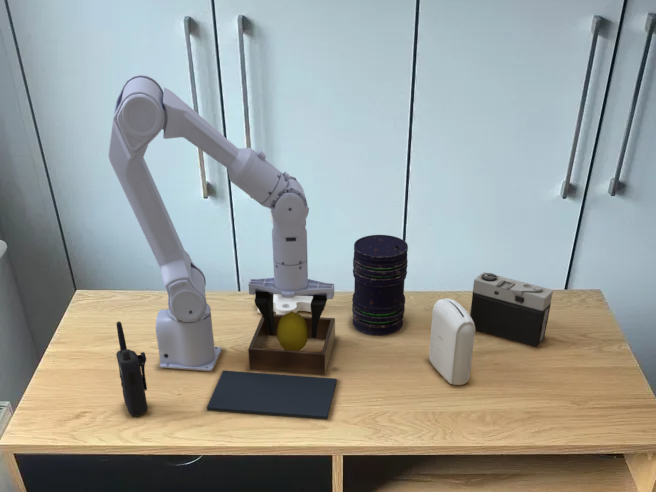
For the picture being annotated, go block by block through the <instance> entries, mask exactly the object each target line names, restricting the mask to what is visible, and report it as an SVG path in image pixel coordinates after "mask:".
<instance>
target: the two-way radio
mask: <svg viewBox="0 0 656 492" xmlns="http://www.w3.org/2000/svg"><path fill="white" fill-rule="evenodd" d="M116 331H117V338H118V344H119V350H117V351H116V355H115V356H116V359H117V365H118V372H119V379H120V384H121V388H122V395H123V400H124V404H125V407H126V409H127V412H128V414H129V415H130V416H132V417H140V416H143V415H144V414H145V413H146V412H147V411H148V403H147V396H146V391H148V387H147V386H148V385H147V380H146V370H145V369H146V368H145V367H146V362H147V356H146V353H145V352H144V351H141V352H139V354H137V353H136V352H135V351H134V350H131V349H129V348H127V343H126V337H125V333H124V328H123V324H122V322H121V321H117V322H116Z"/></svg>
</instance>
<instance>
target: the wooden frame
mask: <svg viewBox="0 0 656 492" xmlns="http://www.w3.org/2000/svg"><path fill="white" fill-rule="evenodd" d="M282 316H284V315H278V314H276V313H274V321H275V330H274V333H273V335H269V332H268V328H267V325H266V323H265V320H264V318H263V316H262V315H261V317H260V319H259V322H258V324H257V327H256V329H255V332H254V334H253V337H252V339H251V341H250V343H249V345H248V349H247V352H248V353H247V355H248V365H249V367H248V369H249V370H250V371H260V372H261V371H262V372H278V373H288V374H289V373H291V374H305V375H306V374H307V375H319V376H326V373H327V369H328V365H329V362H330V357H331V355H332V350H333V347H334V344H335V340H336V317H321V316H320V319H319V323H318V330H317V335H316V338H314V339H316V340H324V342H323V346H322V349H321V351H311V350H310V351H307V350H300V351H296V350H284V349H279V348H266V347H265V348H264V347H263V346H264V344H265V341H266V340H267V337H268V336H272V337H273V336H274V337H277V328H278V323H279V321H280V319H281V318H282ZM301 316H302V317H303V318H304V319H305V321H306V323H307V327H308V339H313V338H312V316H308V315H307V316H306V315H301Z"/></svg>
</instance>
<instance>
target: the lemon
mask: <svg viewBox="0 0 656 492" xmlns="http://www.w3.org/2000/svg"><path fill="white" fill-rule="evenodd" d="M302 316H303V315H301V314H299V313H298V312H297V313H294V312H293V311H291V312H290V313H287V314H285V315H284V316H282V318H281V319H280V321H279V323H278V328H277V336H276V337H277V340H278V344H279V345H280V347H281V348H282V350H296V351H303V349H304V348H305V347H306V345H307V343H308V340H309V338H308V327H307V323H306V321H305V319H304V318H303V317H302Z"/></svg>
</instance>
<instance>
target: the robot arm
mask: <svg viewBox="0 0 656 492" xmlns="http://www.w3.org/2000/svg"><path fill="white" fill-rule="evenodd" d="M114 107H115V108H114V113H113V117H112V125H111V132H110V140H109V148H108V159H109V162H110V165H111V167H112V169H113V171H114V174H115V175H116V178H117V179H118V181H119V184H120V187H121V188H122V191H123V193H124V194H125V197H126V199H127V201H128V203H129V205H130V207H131V210H132V211H133V213H134V216H135V218H136V220H137V222H138V224H139V226H140V228H141V231H142V233H143V235H144V237H145V239H146V241H147V243H148V246H149V247H150V250H151V252H152V254H153V256H154V258H155V261H156V262H157V264H158V267H159V270H160V274H161V278H162V281H163V285H164V287H165V290H166V292H167V307H168V308H167V309H165V308H164V309H159V311H158V312H157V314H156V319H155V335H156V341H157V349H158V355H159V361H160V362H159V368H161V369H174V370H190V371H202V372H203V371H204V372H212V371H213V370H214V368H215V366H216V363H217V361H218V358H219V357H220V356H221V352H222V350H223V349H222V347H221V346H215V340H214V339H215V338H214V328H213V319H212V309H211V306H210V304H208V303H207V297H206V285H207V282H206V276H205V274H204V272H203V271H202V270H201V268H200V267H198V266H197V265H195V263H194V262H193V260H192V258H191V255H190V254H189V253H188V252H187V251H186V250H185V248H184V245H183V243H182V241H181V239H180V237H179V234H178V232H177V230H176V228H175V225H174V223H173V221H172V219H171V216H170V214H169V212H168V210H167V209H168V208H167V207H166V205H165V203H164V200H163V198H162V196H161V193H160V191H159V188H158V186H157V185H156V182H155V180H154V177H153V176H152V173H151V171H150V168H149V167H148V164H147V162H146V159H145V154H146V152H147V149H148V147H149V145H150V143H152V142H153V140H155V138H156V137H157V136H158V135H159V134H160V133H161V131H162V130H163V137H162V138H163V139H164V140H168V139H176V138H183V139H185V140H187V141H188V142H189V143H190V144H192V145H194V146H195V147H196V148H198V149H199V150H200V151H202V152H204V153H205V154H206V155H208V156H209V157H211V158H212V159H214V160H215V161H216V162H217V163H219V164H221V166H223V167H224V168H226V169H227V174H228V179H229V182H230V183H232V184H234V186H236V187H237V188H239V189H240V190H241V191H243V192H244V193H245V194H246V195H248V196H249V197H250V198H252V199H253V200H254V201H256V202H257V203H258V204H259V205H261V206H262V207H264V208H268V209H270V213H271V214H272V217H273V224H272V229H271V241H272V242H271V243H272V260H273V261H272V262H273V263H272V264H273V277H267V278H250V280H249V282H248V294H249V295H252V296H255V297H254V300H253V301H254V305H255V306H256V308H257V307H258V309H259V311H260V312H261V313H260V314H261V317H262V316H263V318H264V320H265V323H266V325H267V328H268V332H269V335H268V336H270V335H273V333H274V330H275V321H274V314H275V312H274V311H273V294H279V295H282V297H283V298H293V297H294V296H313V299H312V301H311V312H310V313H311V317H312V338H311V339H315V338H316V335H317V330H318V323H319V319H320V317H321V316H322V315H323V312H324V309H325V308H326V306H327V302H328V300H333V299H334V297H335V283H331V282H330V283H329V282H325V281H319V280H315V279H310V278H309V269H308V268H309V265H308V264H309V263H308V231H307V228H306V226H307V218H308V215H309V211H310V208H309V207H308V201H307V196H306V194H305V190H304V188H303V186H302V184H301V183H300V182H299V181H298V180H297V178H296V177H294V176H292V175H290V174H289V173H288V172H287V171H283V172H282V171H280V170H279V169H278V168H277V167H276V166H274V165H273V164H271V162H269V161H268V160H267V159H266V158H267V156H266V153H265V152H264V151H262V150H261V149H257V151H256V150H255V149H253V148H252V147H243V148H238V147H237V146H236V145H234V144H233V143H232V142H231V141H230V140H229V139H228V138H227V137H225V136H224V135H223V134H222V133H221V132H220V131H219V130H217V128H216V127H214V126H213V125H212V124H210V122H208V121H207V120H206V119H205V118H204V117H203V116H201V115H200V114H199V113H198V112H197V111H195V110H194V109H193V108H192V107H191V106H190V105H189V104H187V103H186V102H185V101H184V100H182V99H181V98H180V97H179V96H178V95H177V94H176V93H174V92H173V91H171V90H170V89H168V88H167V87H165V86H164V87H163V88H162V87H161V84H160V83H158V81H157V80H156V79H154V78H153V77H151V76H148V75H146V74H145V75H144V74H137V75H133V76H131V77H130V78H128V79H127V80H126V82H125V83H124V85H123V87H122V89H121V90H120V93H119V95H118V96H117V99H116V101H115V106H114Z"/></svg>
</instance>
